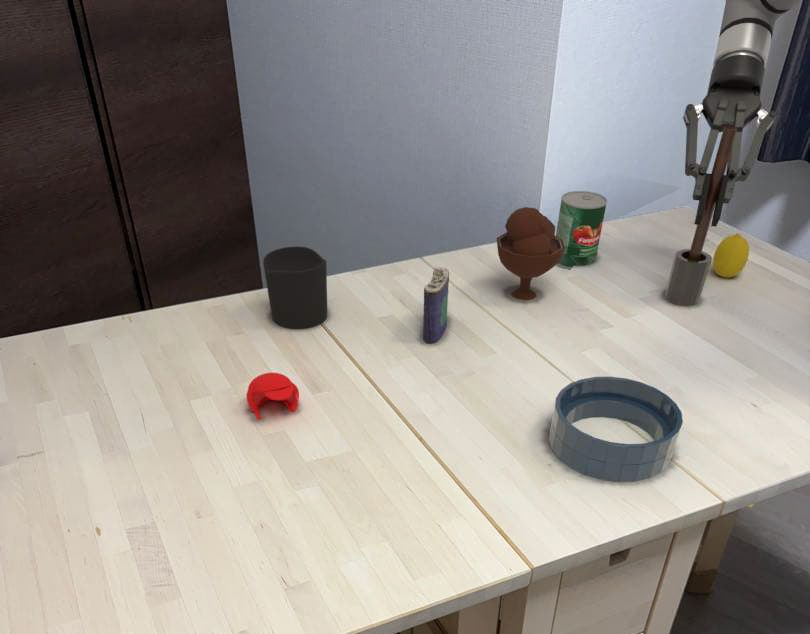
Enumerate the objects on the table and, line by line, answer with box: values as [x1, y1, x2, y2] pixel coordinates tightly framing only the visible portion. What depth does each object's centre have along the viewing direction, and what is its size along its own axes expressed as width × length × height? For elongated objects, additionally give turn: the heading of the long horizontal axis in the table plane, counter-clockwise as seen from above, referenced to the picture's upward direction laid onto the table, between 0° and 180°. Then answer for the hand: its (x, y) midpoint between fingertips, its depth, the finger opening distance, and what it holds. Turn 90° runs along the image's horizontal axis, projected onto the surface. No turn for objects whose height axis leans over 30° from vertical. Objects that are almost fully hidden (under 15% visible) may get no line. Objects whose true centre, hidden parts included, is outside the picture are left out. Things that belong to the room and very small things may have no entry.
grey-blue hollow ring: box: [548, 376, 684, 483], centre depth 93 cm, size 15×15×6 cm
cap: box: [246, 372, 300, 421], centre depth 97 cm, size 8×6×6 cm
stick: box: [688, 126, 737, 261], centre depth 114 cm, size 2×2×22 cm
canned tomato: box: [555, 190, 608, 270], centre depth 133 cm, size 8×8×11 cm
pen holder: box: [262, 246, 328, 330], centre depth 115 cm, size 9×9×10 cm
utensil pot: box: [664, 248, 713, 307], centre depth 122 cm, size 6×6×8 cm
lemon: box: [712, 233, 750, 279], centre depth 129 cm, size 6×6×8 cm
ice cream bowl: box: [496, 206, 565, 302], centre depth 120 cm, size 11×11×15 cm
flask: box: [422, 266, 450, 345], centre depth 112 cm, size 9×3×11 cm, turn 166°
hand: (707, 221), depth 112 cm, fingers closed on stick, 2 cm apart
